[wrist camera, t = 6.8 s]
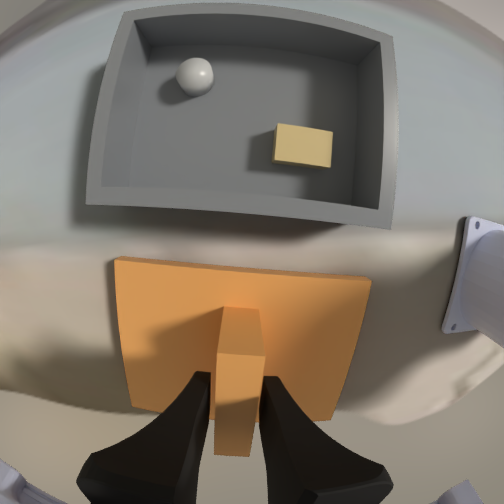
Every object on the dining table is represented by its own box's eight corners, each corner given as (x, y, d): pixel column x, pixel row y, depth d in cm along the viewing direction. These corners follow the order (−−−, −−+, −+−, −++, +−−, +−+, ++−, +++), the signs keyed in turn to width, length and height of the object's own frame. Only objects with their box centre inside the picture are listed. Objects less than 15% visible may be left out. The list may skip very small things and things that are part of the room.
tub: (364, 63, 11) (392, 36, 8) (357, 220, 13) (390, 230, 10) (145, 43, 11) (123, 12, 7) (120, 200, 13) (85, 204, 9)
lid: (357, 271, 14) (415, 313, 9) (324, 402, 16) (347, 466, 11) (128, 252, 14) (69, 286, 8) (139, 389, 16) (112, 451, 10)
